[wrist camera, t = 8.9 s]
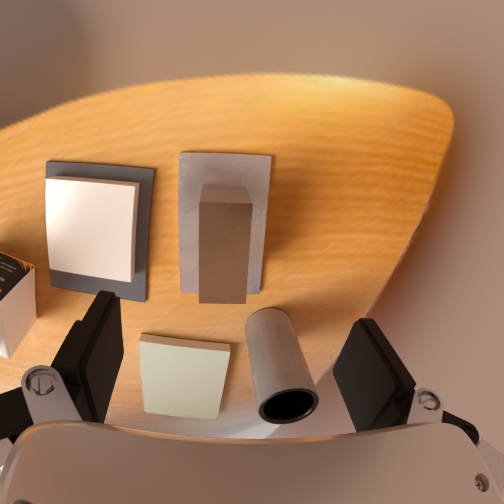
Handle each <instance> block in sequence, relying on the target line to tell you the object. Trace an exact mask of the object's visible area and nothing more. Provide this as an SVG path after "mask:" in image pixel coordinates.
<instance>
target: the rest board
mask: <svg viewBox="0 0 504 504" xmlns="http://www.w3.org/2000/svg"><path fill="white" fill-rule="evenodd" d="M139 352H140V369H141V382H142V393H143V403H144V412H146V413H153V414H160V415H168V416H176V417H185V418H196V419H208V420H217V418H218V413H219V408H220V403H221V398H222V392H223V387H224V382H225V377H226V372H227V367H228V362H229V357H230V352H231V351H230V344H225V343H214V342H204V341H195V340H186V339H178V338H170V337H163V336H155V335H149V334H142V333H141V336H140V339H139Z"/></svg>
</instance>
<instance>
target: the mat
mask: <svg viewBox="0 0 504 504" xmlns="http://www.w3.org/2000/svg"><path fill="white" fill-rule="evenodd" d="M52 176H67V177H81V178H93V179H105V180H116V181H126V182H136V183H140V186H139V197H138V210H137V225H136V245H135V275H134V277H133V279H132V281H131V282H125V281H118V280H112V279H105V278H99V277H93V276H87V275H81V274H75V273H70V272H64V271H58V270H53V269H50V276H51V284H52V286H53V287H58V288H63V289H68V290H73V291H78V292H84V293H89V294H95V295H97V294H98V293H99V291H100V290H105V291H110V292H115V295H116V296H117V297H120V299H125V300H132V301H138V302H146V272H147V249H148V233H149V219H150V207H151V197H152V187H153V178H154V169H149V168H139V167H128V166H117V165H104V164H90V163H74V162H53V161H47V162H46V179H47V178H50V177H52ZM45 203H46V188H45ZM46 232H47V229H46ZM47 247H48V245H47ZM48 258H49V256H48ZM49 268H50V266H49Z"/></svg>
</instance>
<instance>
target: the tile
mask: <svg viewBox="0 0 504 504" xmlns="http://www.w3.org/2000/svg"><path fill="white" fill-rule="evenodd" d="M139 186H140V183H136V182H126V181H116V180H105V179H93V178H81V177H67V176H52V177H50V178H47V179H46V229H47V245H48V256H49V266H50V269H53V270H58V271H64V272H70V273H75V274H81V275H87V276H93V277H99V278H105V279H112V280H118V281H125V282H131V281H132V279H133V277H134V275H135V245H136V225H137V210H138V197H139Z"/></svg>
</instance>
